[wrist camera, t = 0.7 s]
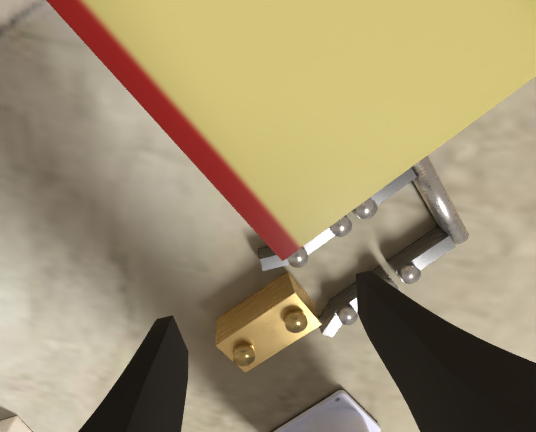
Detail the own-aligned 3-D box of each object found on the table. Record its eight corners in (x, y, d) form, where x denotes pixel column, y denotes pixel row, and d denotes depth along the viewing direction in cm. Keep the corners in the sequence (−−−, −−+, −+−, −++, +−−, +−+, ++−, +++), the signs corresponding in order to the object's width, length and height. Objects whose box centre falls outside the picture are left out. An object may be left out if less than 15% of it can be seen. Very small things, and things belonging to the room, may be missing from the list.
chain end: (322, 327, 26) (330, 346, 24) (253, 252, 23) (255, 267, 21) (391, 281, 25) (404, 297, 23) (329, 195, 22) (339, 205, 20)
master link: (243, 343, 26) (245, 379, 23) (216, 317, 25) (214, 352, 21) (311, 298, 25) (323, 330, 22) (287, 269, 24) (296, 298, 20)
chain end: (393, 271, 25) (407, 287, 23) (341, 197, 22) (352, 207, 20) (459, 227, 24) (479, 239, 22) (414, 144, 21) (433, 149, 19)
